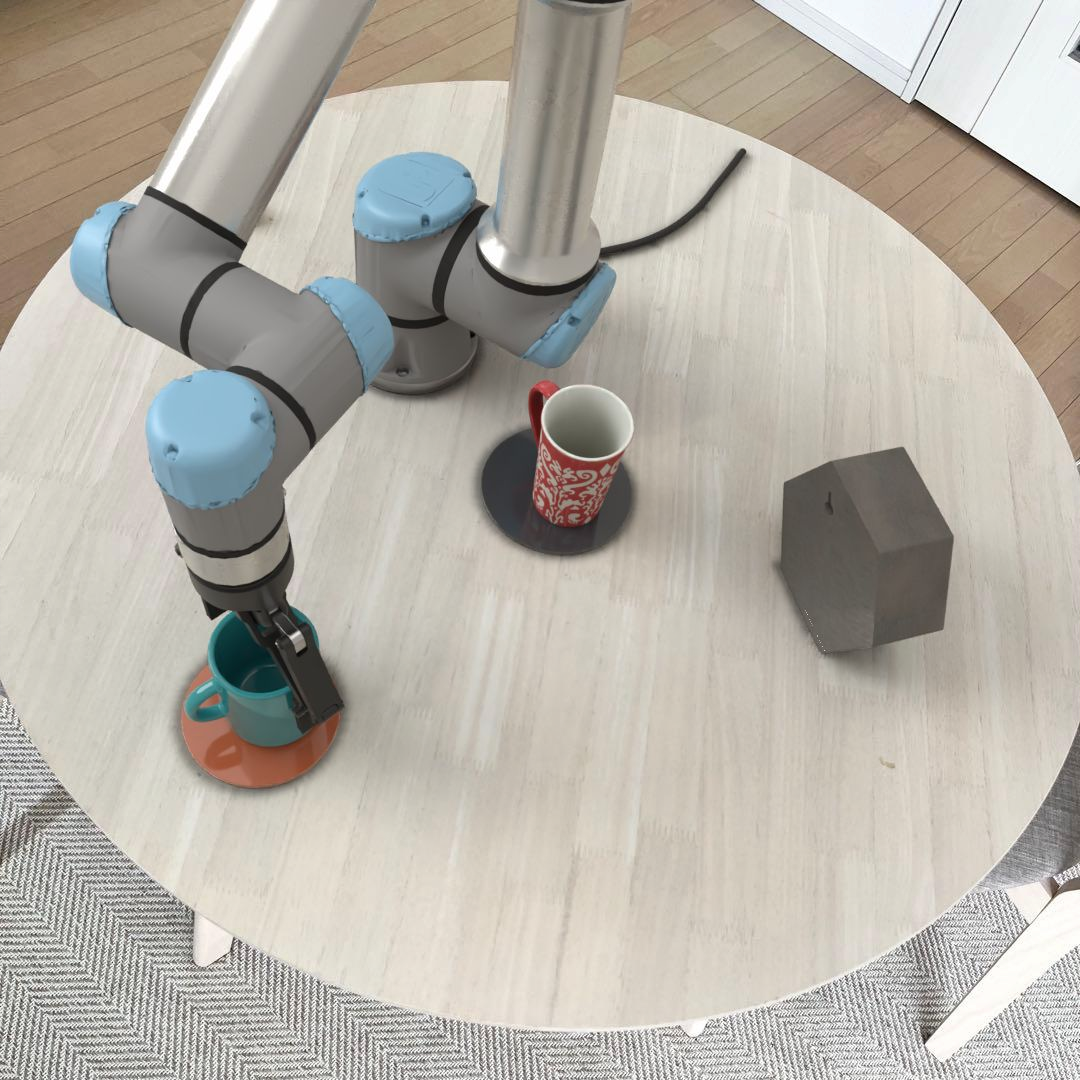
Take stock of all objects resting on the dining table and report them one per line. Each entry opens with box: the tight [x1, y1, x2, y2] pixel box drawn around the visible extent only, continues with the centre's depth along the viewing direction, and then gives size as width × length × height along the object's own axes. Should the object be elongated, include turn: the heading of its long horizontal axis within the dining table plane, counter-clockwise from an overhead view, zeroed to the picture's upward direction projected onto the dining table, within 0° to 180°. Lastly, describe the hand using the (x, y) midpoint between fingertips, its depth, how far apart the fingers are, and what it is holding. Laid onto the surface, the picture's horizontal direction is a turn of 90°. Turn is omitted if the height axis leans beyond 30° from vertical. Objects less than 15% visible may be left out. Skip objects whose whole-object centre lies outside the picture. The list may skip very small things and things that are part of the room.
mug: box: [527, 379, 636, 527], centre depth 113 cm, size 13×9×14 cm
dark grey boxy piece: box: [780, 446, 955, 654], centre depth 109 cm, size 17×8×21 cm
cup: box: [184, 605, 321, 747], centre depth 98 cm, size 9×12×11 cm
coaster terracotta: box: [180, 663, 341, 789], centre depth 102 cm, size 14×14×1 cm
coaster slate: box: [480, 427, 633, 556], centre depth 119 cm, size 16×16×1 cm
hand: (266, 664), depth 99 cm, fingers open, 13 cm apart
